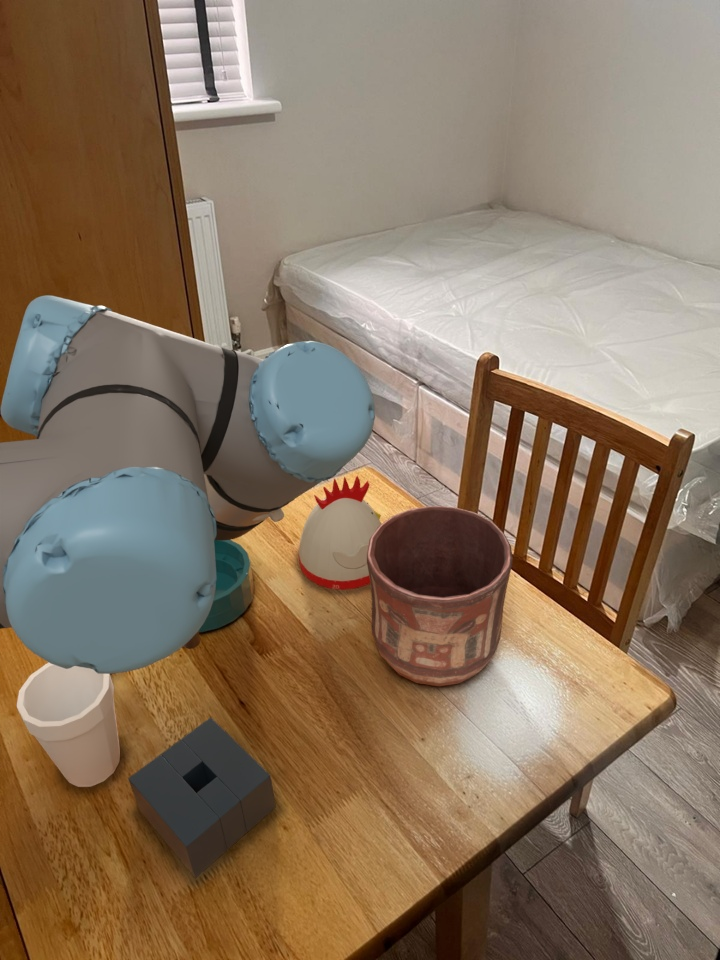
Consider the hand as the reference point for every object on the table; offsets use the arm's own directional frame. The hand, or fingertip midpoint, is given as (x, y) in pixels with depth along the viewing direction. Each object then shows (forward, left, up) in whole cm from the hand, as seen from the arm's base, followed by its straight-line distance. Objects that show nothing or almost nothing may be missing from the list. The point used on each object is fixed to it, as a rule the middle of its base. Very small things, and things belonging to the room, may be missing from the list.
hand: (153, 551), depth 72 cm
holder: (0, -11, -28) cm, 30 cm away
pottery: (+32, +2, -28) cm, 43 cm away
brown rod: (+2, -3, -10) cm, 11 cm away
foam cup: (-12, -1, -28) cm, 31 cm away
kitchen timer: (+26, +24, -28) cm, 45 cm away
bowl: (+4, +22, -28) cm, 36 cm away
